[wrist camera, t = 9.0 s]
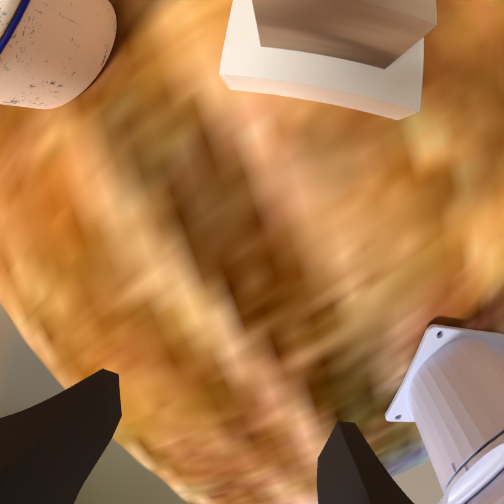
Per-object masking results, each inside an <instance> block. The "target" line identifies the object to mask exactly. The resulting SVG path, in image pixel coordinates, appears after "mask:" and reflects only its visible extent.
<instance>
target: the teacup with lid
mask: <svg viewBox="0 0 504 504" xmlns="http://www.w3.org/2000/svg"><path fill="white" fill-rule="evenodd" d="M116 28H117V22H116V15H115V11H114V8H113V7H112V5H111V3H110V2H109V1H108V0H0V104H5V105H14V106H22V107H30V108H37V109H52V108H56V107H59V106H62V105H64V104H66V103H68V102H70V101H71V100H73V99H74V98H76V97H77V96H78V95H80V94H81V93H82V92H83V91H84V90H85V89H86V88H87V87H88V86H89V85H90V84H91V83H92V82H93V80H94V79H95V78H96V77H97V75H98V74H99V72H100V71H101V69H102V68H103V66H104V65H105V63H106V61H107V59H108V57H109V55H110V52H111V50H112V47H113V44H114V40H115V36H116Z"/></svg>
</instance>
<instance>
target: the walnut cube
mask: <svg viewBox="0 0 504 504" xmlns="http://www.w3.org/2000/svg"><path fill="white" fill-rule="evenodd" d="M252 4H253V9H254V14H255V19H256V24H257V29H258V34H259V40H260V45H261V47H269V48H278V49H286V50H293V51H300V52H307V53H313V54H319V55H324V56H330V57H335V58H340V59H344V60H349V61H353V62H358V63H362V64H366V65H370V66H374V67H378V68H382V69H386V68H387V67H388V66H389V65H391V64H392V63H393V62H394V61H395V60H396V59H398V58H399V57H400V56H401V55H402V54H404V53H405V52H406V51H407V50H408V49H410V48H411V47H412V46H413V45H414V44H416V43H417V42H418V41H419V40H420V39H422V38H423V37H424V36H425V35H427V34H428V33H429V32H430V31H431V30H433V29H434V28H435V27H436V26H438V23H437V5H436V0H252Z"/></svg>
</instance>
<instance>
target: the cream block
mask: <svg viewBox="0 0 504 504" xmlns="http://www.w3.org/2000/svg"><path fill="white" fill-rule="evenodd" d="M423 60H424V37H423V38H422V39H420V40H419V41H418V42H417V43H416V44H414V45H413V46H412V47H411V48H410V49H408V50H407V51H406V52H405V53H404V54H402V55H401V56H400V57H399V58H398V59H396V60H395V61H394V62H393V63H392V64H391V65H389V66H388V67H387V68H386V69H382V68H378V67H374V66H370V65H366V64H362V63H358V62H353V61H349V60H344V59H340V58H335V57H330V56H324V55H319V54H313V53H307V52H300V51H293V50H286V49H278V48H269V47H261V45H260V40H259V34H258V29H257V24H256V19H255V14H254V9H253V4H252V0H233V4H232V8H231V13H230V18H229V23H228V28H227V33H226V38H225V43H224V48H223V53H222V59H221V64H220V70H219V75H220V76H221V78H222V79H223V80H224V82H225V83H226V85H227V86H228V87H229V89H230V90H241V91H250V92H259V93H267V94H274V95H281V96H288V97H294V98H300V99H306V100H312V101H317V102H322V103H328V104H333V105H337V106H342V107H347V108H351V109H355V110H360V111H364V112H368V113H372V114H376V115H380V116H384V117H387V118H391V119H395V120H400V119H403V118H406V117H408V116H411V115H414V114H417V113H420V107H421V96H422V81H423Z"/></svg>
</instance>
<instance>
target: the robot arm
mask: <svg viewBox="0 0 504 504" xmlns="http://www.w3.org/2000/svg"><path fill="white" fill-rule="evenodd" d="M440 331H441V333H440V334H439V335H437V334H438V332H440ZM397 415H398V416H397ZM121 416H122V412H121V401H120V389H119V374H116V373H114V372H111V371H108V370H105V369H101V370H99V371H98V372H96V373H94V374H92V375H91V376H89V377H87V378H85V379H84V380H82V381H80V382H79V383H77V384H75V385H73V386H72V387H70V388H68V389H66V390H64V391H63V392H61V393H59V394H57V395H55V396H53V397H51V398H50V399H47V400H45V401H43V402H41V403H39V404H37V405H35V406H32V407H30V408H28V409H25V410H23V411H20V412H18V413H15V414H12V415H9V416H6V417H3V418H0V504H74V502H75V500H76V497H77V495H78V493H79V491H80V489H81V487H82V486H83V484H84V482H85V480H86V479H87V477H88V476H89V474H90V472H91V470H92V469H93V468H94V466H95V464H96V463H97V461H98V460H99V458H100V457H101V455H102V453H103V452H104V450H105V448H106V447H107V445H108V444H109V442H110V440H111V439H112V437H113V434H114V432H115V430H116V428H117V426H118V423H119V421H120V419H121ZM385 418H386V420H387V421H396V422H416V425H417V427H418V430H419V432H420V434H421V437H422V439H423V442H424V444H425V447H426V449H427V452H428V454H429V457H430V459H431V462H432V464H433V467H434V470H435V472H436V475H437V478H438V480H439V483H440V486H441V489H442V492H443V494H444V497H443V498H442V499H441V500H440V501H439V502H438V503H437V504H504V334H503V333H495V332H487V331H479V330H472V329H465V328H458V327H451V326H444V325H437V324H432V325H430V326H429V327H428V328H427V329H426V331H425V334H424V336H423V338H422V341H421V343H420V345H419V348H418V350H417V352H416V354H415V356H414V359H413V361H412V363H411V365H410V367H409V369H408V371H407V373H406V375H405V378H404V380H403V382H402V384H401V386H400V387H399V389H398V391H397V393H396V395H395V397H394V399H393V401H392V403H391V405H390V406H389V408H388V410H387V412H386V414H385ZM317 493H318V504H414V503H413V502H412V501H411V500H410V499H409V498H408V497H407V496H406V494H405V493H404V492H403V491H402V490H401V488H400V487H399V486H398V485H397V484H396V482H395V481H394V480H393V479H392V477H391V476H390V475H389V473H388V472H387V471H386V469H385V468H384V466H383V465H382V464H381V462H380V461H379V459H378V458H377V456H376V455H375V453H374V452H373V450H372V449H371V447H370V446H369V444H368V443H367V441H366V440H365V438H364V436H363V435H362V433H361V432H360V430H359V429H358V427H357V426H356V424H355V423H351V422H339V421H337V423H336V425H335V427H334V429H333V431H332V433H331V435H330V437H329V439H328V441H327V442H326V444H325V446H324V448H323V450H322V452H321V454H320V455H319V457H318V467H317Z"/></svg>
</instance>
